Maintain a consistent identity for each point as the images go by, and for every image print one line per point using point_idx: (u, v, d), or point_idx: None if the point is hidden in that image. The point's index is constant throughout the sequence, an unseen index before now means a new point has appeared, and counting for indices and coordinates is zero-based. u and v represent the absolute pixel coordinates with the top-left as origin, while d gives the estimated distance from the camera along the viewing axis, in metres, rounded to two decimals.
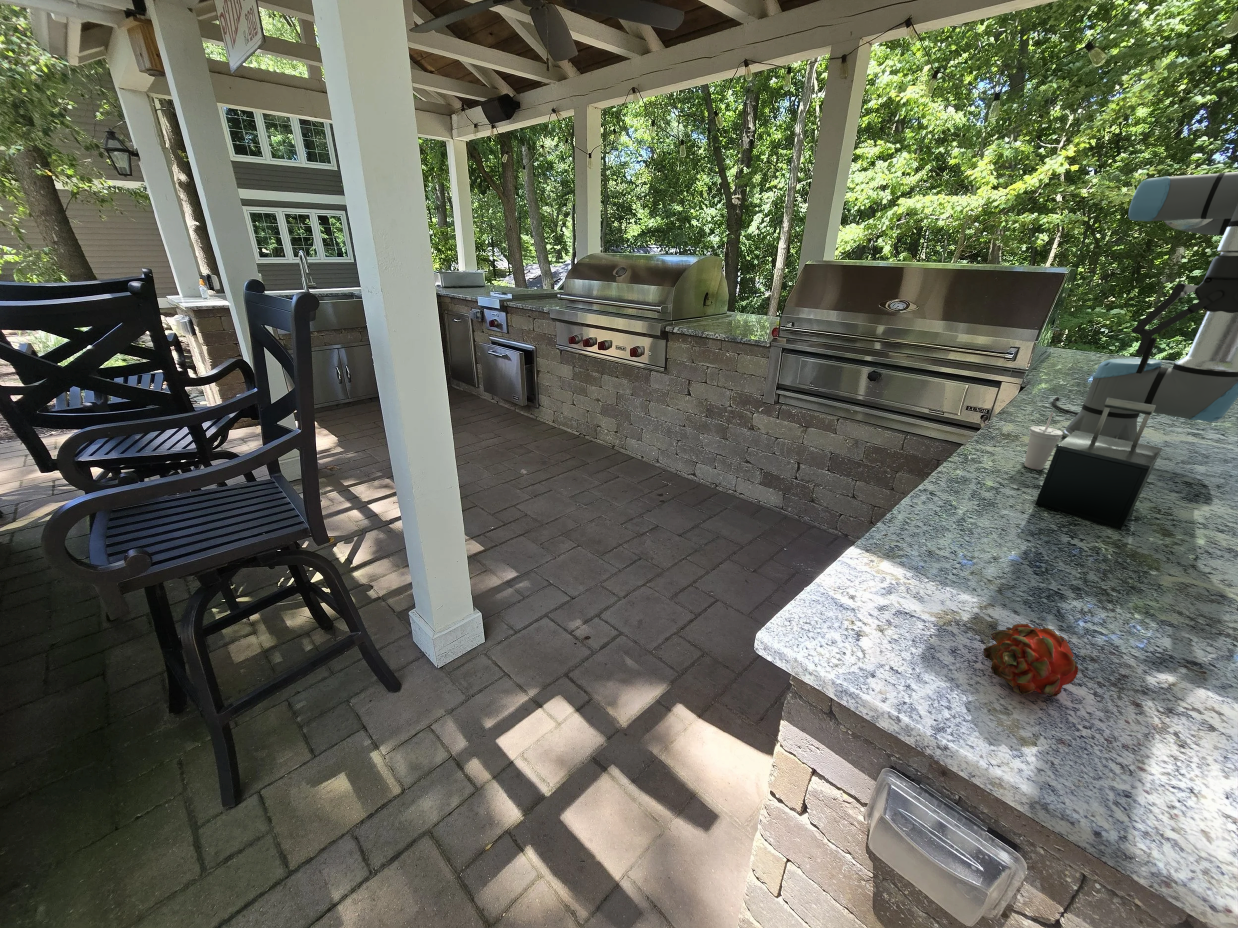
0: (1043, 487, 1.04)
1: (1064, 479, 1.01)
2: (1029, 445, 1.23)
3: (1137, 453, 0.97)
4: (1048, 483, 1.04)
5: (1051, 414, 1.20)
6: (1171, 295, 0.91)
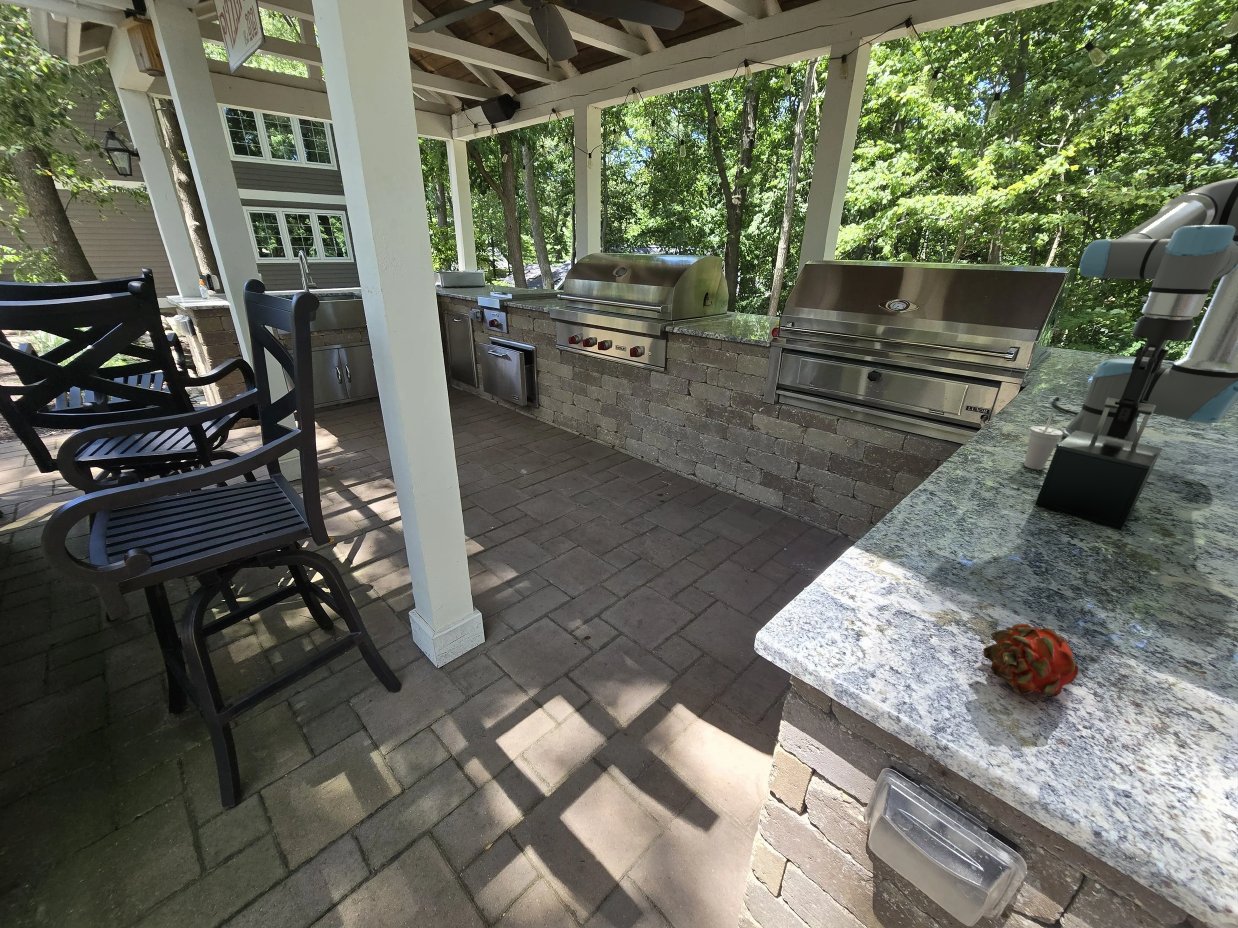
0: (1043, 487, 1.04)
1: (1064, 479, 1.01)
2: (1029, 445, 1.23)
3: (1137, 453, 0.97)
4: (1048, 483, 1.04)
5: (1051, 414, 1.20)
6: None
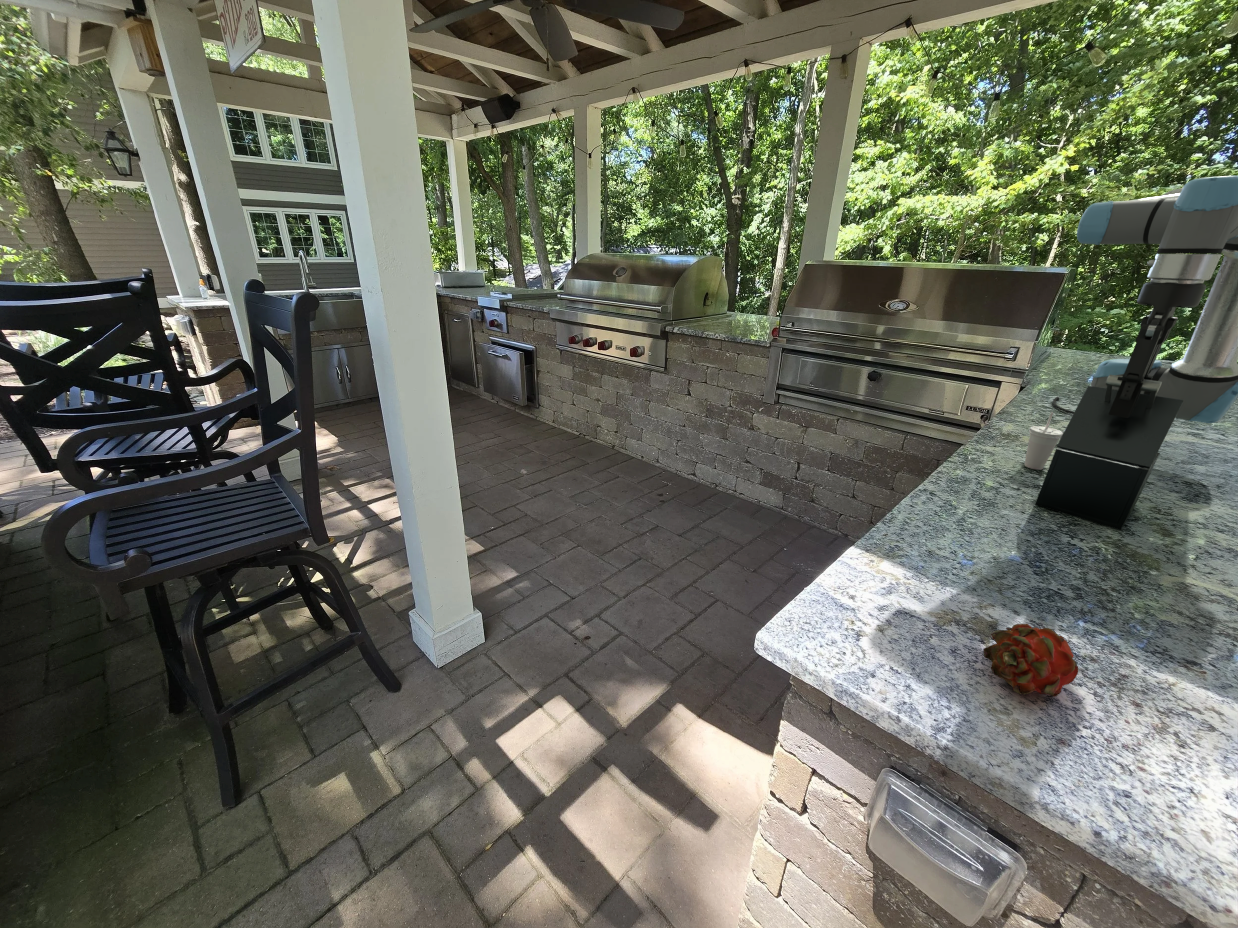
0: (1043, 487, 1.04)
1: (1064, 479, 1.01)
2: (1029, 445, 1.23)
3: (1145, 432, 0.93)
4: (1048, 483, 1.04)
5: (1051, 414, 1.20)
6: None
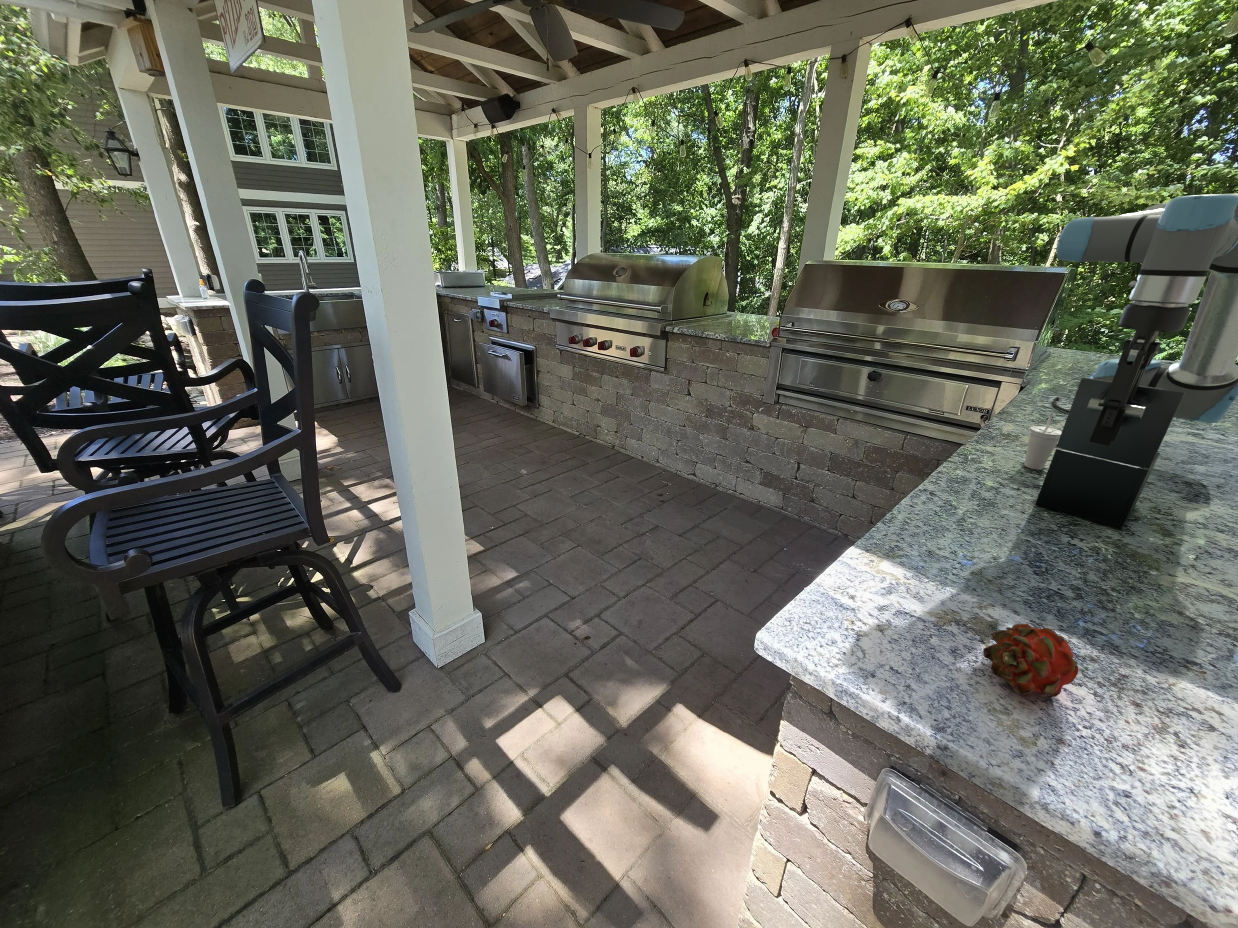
0: (1043, 487, 1.04)
1: (1064, 479, 1.01)
2: (1029, 445, 1.23)
3: (1144, 432, 0.90)
4: (1048, 483, 1.04)
5: (1051, 414, 1.20)
6: None
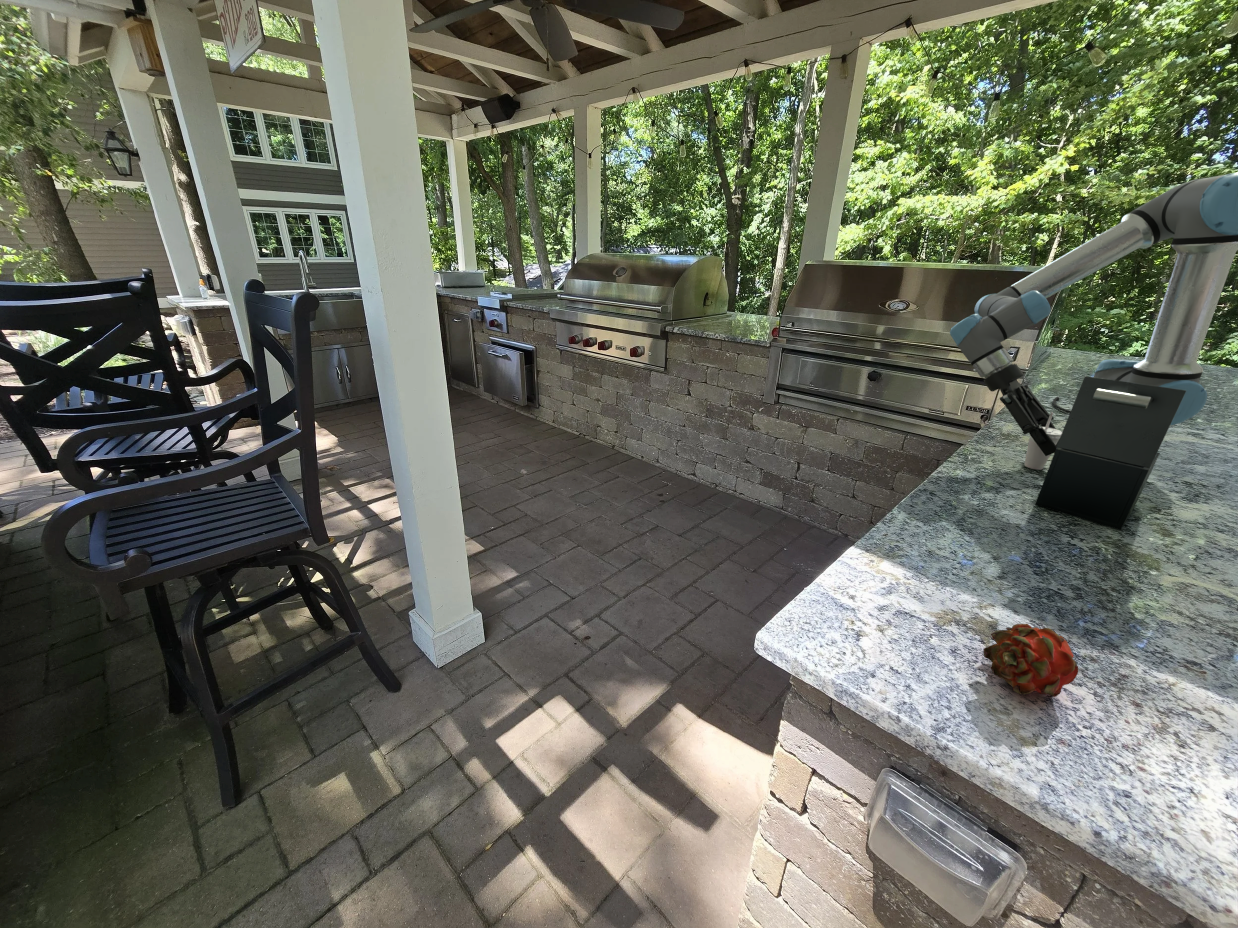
0: (1043, 487, 1.04)
1: (1064, 479, 1.01)
2: (1029, 445, 1.23)
3: (1145, 430, 0.91)
4: (1048, 483, 1.04)
5: (1051, 414, 1.20)
6: None
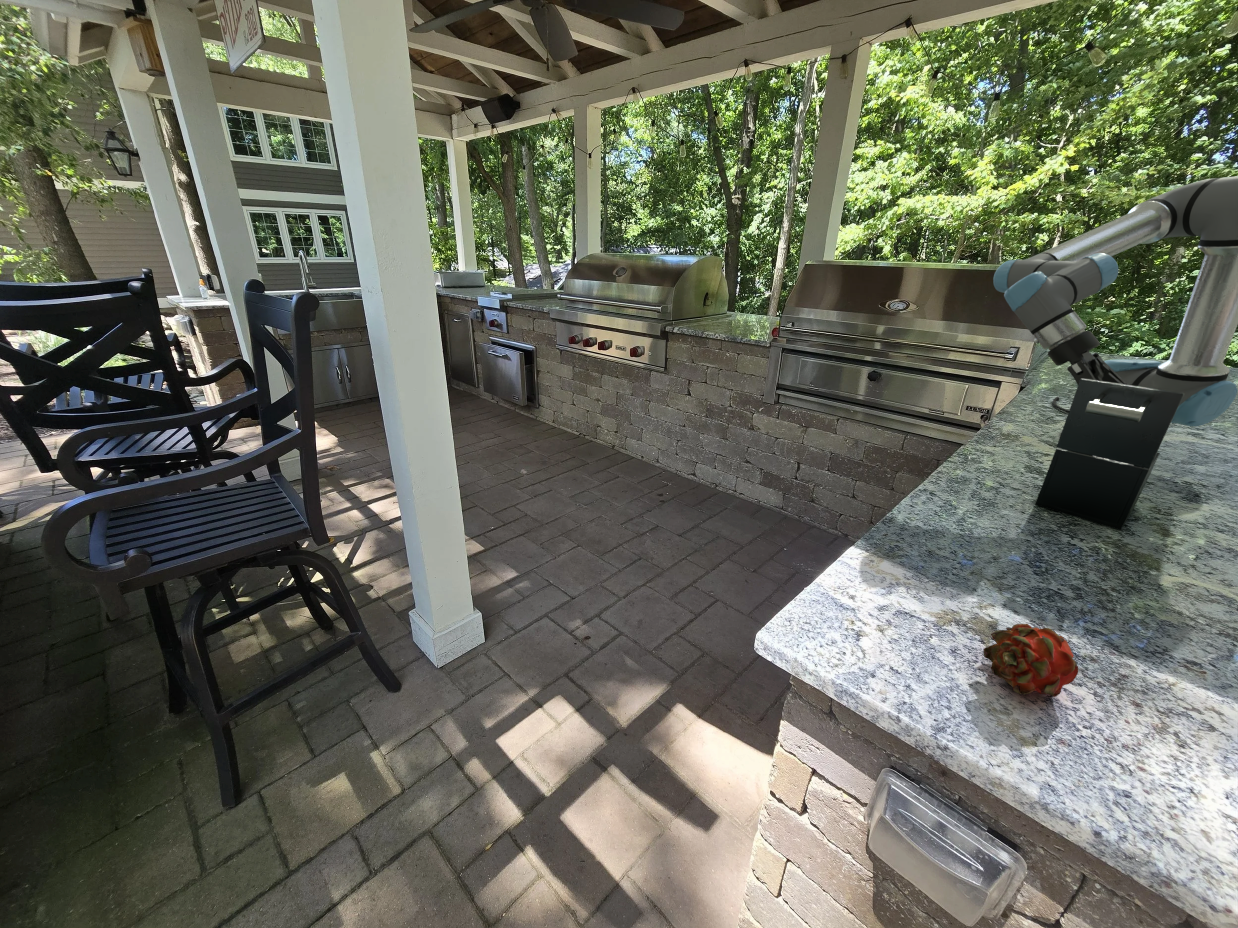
0: (1043, 487, 1.04)
1: (1064, 479, 1.01)
2: None
3: (1143, 432, 0.90)
4: (1048, 483, 1.04)
5: None
6: None
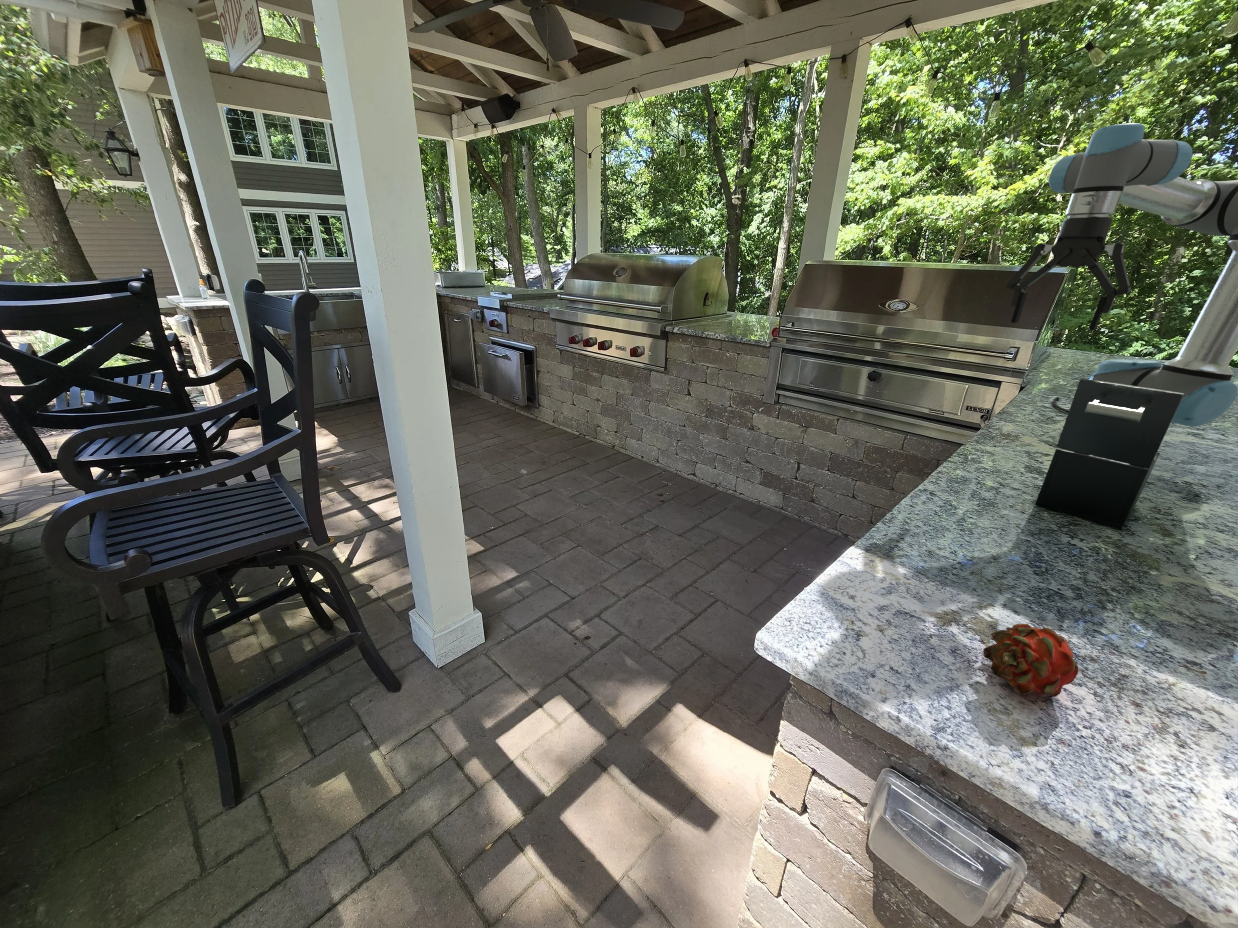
0: (1043, 487, 1.04)
1: (1064, 479, 1.01)
2: None
3: (1143, 432, 0.90)
4: (1048, 483, 1.04)
5: None
6: (1034, 254, 1.07)
